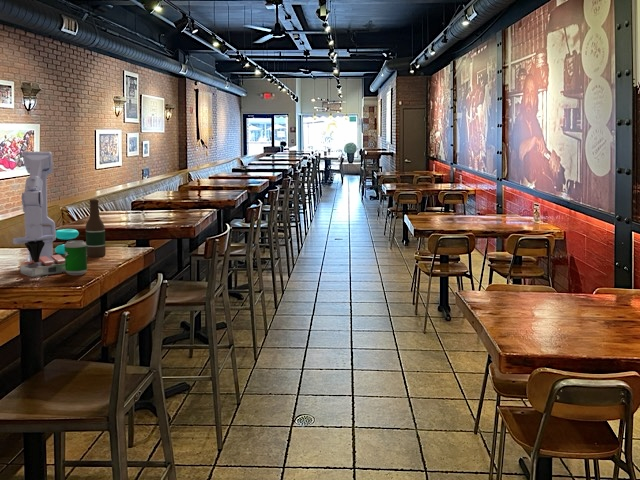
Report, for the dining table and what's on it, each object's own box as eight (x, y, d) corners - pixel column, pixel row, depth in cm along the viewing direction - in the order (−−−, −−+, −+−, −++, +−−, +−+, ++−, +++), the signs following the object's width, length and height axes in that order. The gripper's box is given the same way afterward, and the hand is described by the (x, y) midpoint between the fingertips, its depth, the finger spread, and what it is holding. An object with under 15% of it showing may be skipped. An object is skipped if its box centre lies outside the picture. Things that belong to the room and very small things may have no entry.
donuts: (83, 229, 285) (64, 232, 277) (84, 252, 287) (65, 255, 278) (68, 228, 290) (48, 230, 282) (69, 250, 292) (49, 253, 283)
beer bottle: (109, 255, 280) (107, 199, 277) (94, 258, 274) (92, 200, 270) (97, 253, 284) (95, 198, 281) (82, 256, 278) (80, 199, 274)
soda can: (90, 272, 244) (89, 240, 243) (81, 276, 237) (80, 243, 235) (71, 271, 245) (70, 239, 243) (61, 275, 238) (60, 242, 236)
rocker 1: (24, 264, 239) (24, 262, 239) (33, 263, 242) (33, 261, 242) (32, 262, 235) (31, 260, 235) (40, 261, 238) (40, 259, 238)
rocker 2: (37, 259, 243) (37, 256, 243) (46, 258, 245) (46, 255, 245) (45, 265, 239) (45, 263, 239) (53, 264, 242) (54, 262, 241)
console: (20, 273, 240) (20, 263, 240) (59, 267, 251) (59, 258, 251) (32, 277, 234) (31, 266, 234) (72, 271, 245) (71, 261, 245)
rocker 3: (50, 257, 247) (50, 255, 246) (58, 256, 249) (59, 254, 249) (58, 263, 243) (58, 261, 243) (66, 262, 245) (66, 260, 245)
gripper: (18, 227, 227) (20, 265, 229) (58, 223, 238) (60, 260, 239) (9, 225, 231) (11, 263, 233) (49, 222, 242) (50, 258, 244)
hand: (35, 261), depth 237 cm, fingers closed, pressing on rocker 1
